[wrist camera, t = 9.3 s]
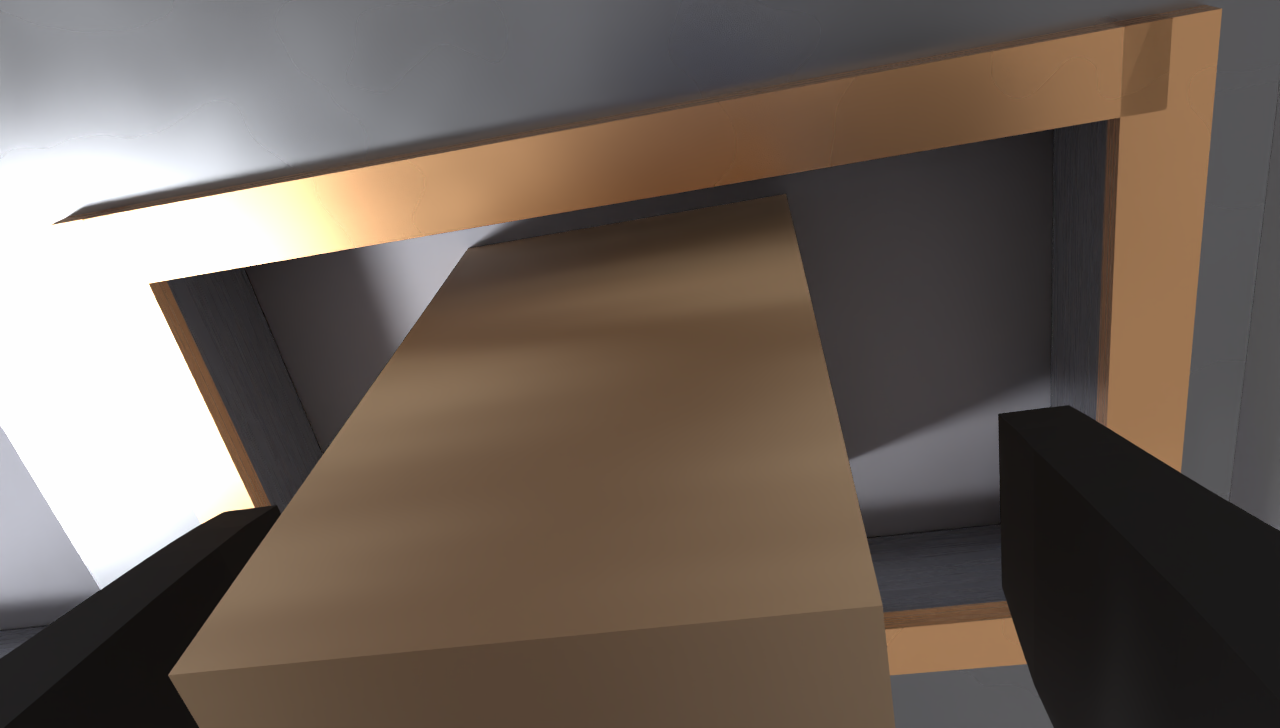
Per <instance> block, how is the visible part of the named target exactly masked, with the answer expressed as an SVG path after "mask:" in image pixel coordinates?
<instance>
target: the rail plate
mask: <svg viewBox="0 0 1280 728" xmlns="http://www.w3.org/2000/svg"><path fill="white" fill-rule="evenodd" d="M1279 82H1280V0H0V424H1V426H2V427H3V429H4V431H5V432H6V434H7V435H8V437H9V439H10V440H11V442H12V444H13V445H14V447H15V449H16V450H17V452H18V454H19V455H20V457H21V459H22V460H23V462H24V464H25V465H26V467H27V469H28V470H29V472H30V474H31V475H32V477H33V479H34V480H35V482H36V484H37V485H38V487H39V489H40V490H41V492H42V494H43V495H44V497H45V499H46V500H47V502H48V504H49V505H50V507H51V509H52V510H53V512H54V514H55V515H56V517H57V519H58V520H59V522H60V524H61V525H62V527H63V529H64V530H65V532H66V534H67V535H68V537H69V539H70V540H71V542H72V544H73V545H74V547H75V549H76V550H77V552H78V554H79V555H80V557H81V559H82V560H83V562H84V564H85V565H86V567H87V569H88V570H89V572H90V574H91V575H92V577H93V579H94V580H95V582H96V584H97V585H98V587H99V589H100V590H101V589H103V588H104V587H106V586H107V585H108V584H110V583H111V582H113V581H114V580H116V579H117V578H119V577H120V576H122V575H123V574H125V573H126V572H127V571H129V570H130V569H132V568H133V567H135V566H136V565H138V564H139V563H141V562H142V561H144V560H145V559H147V558H148V557H150V556H151V555H153V554H154V553H156V552H157V551H159V550H160V549H162V548H163V547H165V546H167V545H168V544H170V543H171V542H173V541H174V540H176V539H177V538H179V537H181V536H182V535H184V534H185V533H187V532H189V531H190V530H192V529H194V528H195V527H197V526H199V525H200V524H202V523H204V522H206V521H208V520H210V519H211V518H213V517H215V516H217V515H219V514H221V513H222V512H225V511H233V510H241V509H249V508H257V507H265V506H273V505H277V506H278V508H279V510H280V513H281V514H282V512H283V511H284V510H285V508H286V507H287V505H288V504H289V502H290V501H291V500H292V498H293V497H294V495H295V494H296V492H297V491H298V490H299V488H300V487H301V485H302V484H303V483H304V481H305V480H306V478H307V477H308V475H309V474H310V473H311V471H312V470H313V468H314V467H315V465H316V464H317V463H318V461H319V460H320V458H321V457H322V453H321V450H320V448H319V445H318V443H317V441H316V438H315V436H314V434H313V431H312V429H311V426H310V424H309V422H308V419H307V417H306V415H305V412H304V410H303V408H302V405H301V403H300V400H299V398H298V396H297V393H296V391H295V389H294V386H293V384H292V381H291V379H290V377H289V374H288V372H287V370H286V367H285V365H284V362H283V360H282V358H281V355H280V353H279V351H278V348H277V346H276V343H275V341H274V339H273V336H272V334H271V332H270V329H269V327H268V324H267V322H266V320H265V317H264V315H263V313H262V310H261V308H260V305H259V303H258V301H257V298H256V296H255V294H254V291H253V289H252V286H251V284H250V282H249V279H248V277H247V275H246V272H245V270H244V267H247V266H253V265H258V264H264V263H270V262H276V261H282V260H288V259H294V258H299V257H305V256H311V255H317V254H323V253H329V252H335V251H340V250H346V249H352V248H358V247H364V246H370V245H376V244H382V243H387V242H393V241H399V240H405V239H411V238H417V237H423V236H428V235H434V234H440V233H446V232H452V231H458V230H464V229H469V228H475V227H481V226H487V225H493V224H499V223H505V222H510V221H516V220H522V219H528V218H534V217H540V216H546V215H551V214H557V213H563V212H569V211H575V210H581V209H587V208H593V207H598V206H604V205H610V204H616V203H622V202H628V201H634V200H639V199H645V198H651V197H657V196H663V195H669V194H675V193H680V192H686V191H692V190H698V189H704V188H710V187H716V186H721V185H727V184H733V183H739V182H745V181H751V180H757V179H762V178H768V177H774V176H780V175H786V174H792V173H798V172H804V171H809V170H815V169H821V168H827V167H833V166H839V165H845V164H850V163H856V162H862V161H868V160H874V159H880V158H886V157H891V156H897V155H903V154H909V153H915V152H921V151H927V150H932V149H938V148H944V147H950V146H956V145H962V144H968V143H973V142H979V141H985V140H991V139H997V138H1003V137H1009V136H1014V135H1020V134H1026V133H1032V132H1038V131H1044V130H1050V129H1054V171H1053V264H1052V357H1051V407H1057V406H1065V405H1069V406H1071V407H1073V408H1075V409H1077V410H1079V411H1080V412H1082V413H1084V414H1086V415H1087V416H1089V417H1091V418H1092V419H1094V420H1096V421H1097V422H1099V423H1101V424H1102V425H1104V426H1106V427H1107V428H1109V429H1111V430H1112V431H1114V432H1115V433H1117V434H1119V435H1120V436H1122V437H1123V438H1125V439H1127V440H1128V441H1130V442H1132V443H1133V444H1135V445H1136V446H1138V447H1140V448H1141V449H1143V450H1144V451H1146V452H1148V453H1149V454H1151V455H1153V456H1154V457H1156V458H1157V459H1159V460H1161V461H1162V462H1164V463H1166V464H1167V465H1169V466H1170V467H1172V468H1174V469H1175V470H1177V471H1179V472H1180V473H1182V474H1183V475H1185V476H1187V477H1188V478H1190V479H1192V480H1193V481H1195V482H1197V483H1198V484H1200V485H1202V486H1203V487H1205V488H1207V489H1208V490H1210V491H1212V492H1213V493H1215V494H1217V495H1218V496H1220V497H1222V498H1223V499H1225V500H1227V501H1229V498H1230V490H1231V481H1232V473H1233V465H1234V456H1235V448H1236V440H1237V431H1238V423H1239V415H1240V406H1241V398H1242V390H1243V382H1244V373H1245V365H1246V357H1247V348H1248V340H1249V332H1250V323H1251V315H1252V307H1253V298H1254V290H1255V282H1256V273H1257V265H1258V257H1259V248H1260V240H1261V232H1262V223H1263V215H1264V207H1265V198H1266V190H1267V182H1268V173H1269V165H1270V157H1271V148H1272V140H1273V132H1274V123H1275V115H1276V107H1277V98H1278V90H1279ZM867 541H868V545H869V549H870V554H871V558H872V562H873V566H874V571H875V575H876V579H877V584H878V588H879V592H880V596H881V601H882V605H883V614H884V623H885V633H886V643H887V652H888V662H889V671H890V681H891V691H892V700H893V710H894V720H895V728H1054V727H1053V725H1052V723H1051V721H1050V719H1049V717H1048V714H1047V712H1046V710H1045V708H1044V706H1043V704H1042V701H1041V699H1040V697H1039V695H1038V692H1037V690H1036V688H1035V686H1034V683H1033V680H1032V677H1031V674H1030V671H1029V668H1028V665H1027V663H1026V660H1025V657H1024V654H1023V651H1022V648H1021V645H1020V642H1019V639H1018V636H1017V632H1016V629H1015V626H1014V623H1013V620H1012V617H1011V614H1010V610H1009V607H1008V604H1007V601H1006V598H1005V595H1004V592H1003V588H1002V569H1001V524H999V525H989V526H980V527H971V528H961V529H952V530H943V531H933V532H924V533H915V534H905V535H896V536H886V537H877V538H868V539H867ZM46 627H47V626H44V627H34V628H25V629H16V630H6V631H0V658H2V657H3V656H5V655H6V654H8V653H9V652H11V651H12V650H14V649H15V648H17V647H18V646H20V645H21V644H23V643H24V642H25V641H27V640H28V639H30V638H31V637H33V636H34V635H36V634H37V633H39V632H40V631H41V630H43V629H44V628H46Z"/></svg>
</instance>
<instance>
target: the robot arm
mask: <svg viewBox="0 0 1280 728" xmlns="http://www.w3.org/2000/svg"><path fill="white" fill-rule="evenodd" d="M998 420H999V470H1000V519H1001V569H1002V588H1003V592H1004V595H1005V598H1006V601H1007V604H1008V607H1009V610H1010V614H1011V617H1012V620H1013V623H1014V626H1015V629H1016V632H1017V636H1018V639H1019V642H1020V645H1021V648H1022V651H1023V654H1024V657H1025V660H1026V663H1027V665H1028V668H1029V671H1030V674H1031V677H1032V680H1033V683H1034V686H1035V688H1036V690H1037V692H1038V695H1039V697H1040V699H1041V701H1042V704H1043V706H1044V708H1045V710H1046V712H1047V714H1048V717H1049V719H1050V721H1051V723H1052V725H1053V727H1054V728H1280V531H1279V530H1277V529H1275V528H1273V527H1272V526H1270V525H1268V524H1266V523H1265V522H1263V521H1261V520H1259V519H1258V518H1256V517H1254V516H1252V515H1251V514H1249V513H1247V512H1246V511H1244V510H1242V509H1240V508H1239V507H1237V506H1235V505H1234V504H1232V503H1230V502H1229V501H1227V500H1225V499H1223V498H1222V497H1220V496H1218V495H1217V494H1215V493H1213V492H1212V491H1210V490H1208V489H1207V488H1205V487H1203V486H1202V485H1200V484H1198V483H1197V482H1195V481H1193V480H1192V479H1190V478H1188V477H1187V476H1185V475H1183V474H1182V473H1180V472H1179V471H1177V470H1175V469H1174V468H1172V467H1170V466H1169V465H1167V464H1166V463H1164V462H1162V461H1161V460H1159V459H1157V458H1156V457H1154V456H1153V455H1151V454H1149V453H1148V452H1146V451H1144V450H1143V449H1141V448H1140V447H1138V446H1136V445H1135V444H1133V443H1132V442H1130V441H1128V440H1127V439H1125V438H1123V437H1122V436H1120V435H1119V434H1117V433H1115V432H1114V431H1112V430H1111V429H1109V428H1107V427H1106V426H1104V425H1102V424H1101V423H1099V422H1097V421H1096V420H1094V419H1092V418H1091V417H1089V416H1087V415H1086V414H1084V413H1082V412H1080V411H1079V410H1077V409H1075V408H1073V407H1071V406H1069V405H1065V406H1057V407H1049V408H1041V409H1033V410H1025V411H1017V412H1009V413H1002V414H998ZM280 515H281V513H280V510H279V508H278V506H277V505H273V506H265V507H257V508H249V509H241V510H233V511H225V512H222V513H221V514H219V515H217V516H215V517H213V518H211V519H210V520H208V521H206V522H204V523H202V524H200V525H199V526H197V527H195V528H194V529H192V530H190V531H189V532H187V533H185V534H184V535H182V536H181V537H179V538H177V539H176V540H174V541H173V542H171V543H170V544H168V545H167V546H165V547H163V548H162V549H160V550H159V551H157V552H156V553H154V554H153V555H151V556H150V557H148V558H147V559H145V560H144V561H142V562H141V563H139V564H138V565H136V566H135V567H133V568H132V569H130V570H129V571H127V572H126V573H125V574H123V575H122V576H120V577H119V578H117V579H116V580H114V581H113V582H111V583H110V584H108V585H107V586H106V587H104V588H103V589H101V590H100V591H98V592H97V593H95V594H94V595H92V596H91V597H89V598H88V599H87V600H85V601H84V602H82V603H81V604H79V605H78V606H76V607H75V608H73V609H72V610H71V611H69V612H68V613H66V614H65V615H63V616H62V617H60V618H59V619H57V620H56V621H55V622H53V623H52V624H50V625H49V626H47V627H46V628H44V629H43V630H41V631H40V632H39V633H37V634H36V635H34V636H33V637H31V638H30V639H28V640H27V641H25V642H24V643H23V644H21V645H20V646H18V647H17V648H15V649H14V650H12V651H11V652H9V653H8V654H6V655H5V656H3V657H2V658H0V728H199V726H198V725H197V723H196V721H195V720H194V718H193V716H192V714H191V713H190V711H189V709H188V708H187V706H186V704H185V703H184V701H183V699H182V698H181V696H180V694H179V693H178V691H177V689H176V688H175V686H174V684H173V683H172V681H171V679H170V678H169V676H168V674H169V673H170V672H171V670H172V669H173V667H174V666H175V665H176V663H177V662H178V660H179V659H180V657H181V656H182V655H183V653H184V652H185V650H186V649H187V647H188V646H189V645H190V643H191V642H192V640H193V639H194V638H195V636H196V635H197V633H198V632H199V630H200V629H201V628H202V626H203V625H204V623H205V622H206V620H207V619H208V618H209V616H210V615H211V613H212V612H213V610H214V609H215V608H216V606H217V605H218V603H219V602H220V601H221V599H222V598H223V596H224V595H225V593H226V592H227V591H228V589H229V588H230V586H231V585H232V583H233V582H234V581H235V579H236V578H237V576H238V575H239V574H240V572H241V571H242V569H243V568H244V566H245V565H246V564H247V562H248V561H249V559H250V558H251V556H252V555H253V554H254V552H255V551H256V549H257V548H258V547H259V545H260V544H261V542H262V541H263V539H264V538H265V537H266V535H267V534H268V532H269V531H270V529H271V528H272V527H273V525H274V524H275V522H276V521H277V519H278V518H279V517H280Z"/></svg>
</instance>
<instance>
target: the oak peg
mask: <svg viewBox="0 0 1280 728" xmlns="http://www.w3.org/2000/svg"><path fill="white" fill-rule="evenodd" d="M168 676H169V678H170V679H171V681H172V683H173V684H174V686H175V688H176V689H177V691H178V693H179V694H180V696H181V698H182V699H183V701H184V703H185V704H186V706H187V708H188V709H189V711H190V713H191V714H192V716H193V718H194V720H195V721H196V723H197V725H198V726H199V728H895V720H894V710H893V700H892V691H891V681H890V671H889V662H888V652H887V643H886V633H885V623H884V614H883V605H882V601H881V596H880V592H879V588H878V584H877V579H876V575H875V571H874V566H873V562H872V558H871V554H870V549H869V545H868V541H867V537H866V532H865V528H864V524H863V520H862V515H861V511H860V507H859V503H858V498H857V494H856V490H855V485H854V481H853V477H852V473H851V468H850V464H849V460H848V456H847V451H846V447H845V443H844V439H843V434H842V430H841V426H840V422H839V417H838V413H837V409H836V404H835V400H834V396H833V392H832V387H831V383H830V379H829V375H828V370H827V366H826V362H825V358H824V353H823V349H822V345H821V341H820V336H819V332H818V328H817V323H816V319H815V315H814V311H813V306H812V302H811V298H810V294H809V289H808V285H807V281H806V277H805V272H804V268H803V264H802V260H801V255H800V251H799V247H798V242H797V238H796V234H795V230H794V225H793V221H792V217H791V213H790V208H789V204H788V200H787V196H786V194H782V195H776V196H770V197H765V198H759V199H753V200H747V201H741V202H735V203H730V204H724V205H718V206H712V207H706V208H700V209H695V210H689V211H683V212H677V213H671V214H666V215H660V216H654V217H648V218H642V219H636V220H631V221H625V222H619V223H613V224H607V225H602V226H596V227H590V228H584V229H578V230H572V231H567V232H561V233H555V234H549V235H543V236H538V237H532V238H526V239H520V240H514V241H508V242H503V243H497V244H491V245H485V246H479V247H474V248H468V249H467V251H466V252H465V254H464V255H463V256H462V258H461V259H460V261H459V262H458V264H457V265H456V266H455V268H454V269H453V271H452V272H451V273H450V275H449V276H448V278H447V279H446V281H445V282H444V283H443V285H442V286H441V288H440V289H439V291H438V292H437V293H436V295H435V296H434V298H433V299H432V301H431V302H430V303H429V305H428V306H427V308H426V309H425V310H424V312H423V313H422V315H421V316H420V318H419V319H418V320H417V322H416V323H415V325H414V326H413V328H412V329H411V330H410V332H409V333H408V335H407V336H406V337H405V339H404V340H403V342H402V343H401V345H400V346H399V347H398V349H397V350H396V352H395V353H394V355H393V356H392V357H391V359H390V360H389V362H388V363H387V364H386V366H385V367H384V369H383V370H382V372H381V373H380V374H379V376H378V377H377V379H376V380H375V382H374V383H373V384H372V386H371V387H370V389H369V390H368V392H367V393H366V394H365V396H364V397H363V399H362V400H361V401H360V403H359V404H358V406H357V407H356V409H355V410H354V411H353V413H352V414H351V416H350V417H349V419H348V420H347V421H346V423H345V424H344V426H343V427H342V428H341V430H340V431H339V433H338V434H337V436H336V437H335V438H334V440H333V441H332V443H331V444H330V446H329V447H328V448H327V450H326V451H325V453H324V454H323V455H322V457H321V458H320V460H319V461H318V463H317V464H316V465H315V467H314V468H313V470H312V471H311V473H310V474H309V475H308V477H307V478H306V480H305V481H304V483H303V484H302V485H301V487H300V488H299V490H298V491H297V492H296V494H295V495H294V497H293V498H292V500H291V501H290V502H289V504H288V505H287V507H286V508H285V510H284V511H283V512H282V514H281V515H280V517H279V518H278V519H277V521H276V522H275V524H274V525H273V527H272V528H271V529H270V531H269V532H268V534H267V535H266V537H265V538H264V539H263V541H262V542H261V544H260V545H259V547H258V548H257V549H256V551H255V552H254V554H253V555H252V556H251V558H250V559H249V561H248V562H247V564H246V565H245V566H244V568H243V569H242V571H241V572H240V574H239V575H238V576H237V578H236V579H235V581H234V582H233V583H232V585H231V586H230V588H229V589H228V591H227V592H226V593H225V595H224V596H223V598H222V599H221V601H220V602H219V603H218V605H217V606H216V608H215V609H214V610H213V612H212V613H211V615H210V616H209V618H208V619H207V620H206V622H205V623H204V625H203V626H202V628H201V629H200V630H199V632H198V633H197V635H196V636H195V638H194V639H193V640H192V642H191V643H190V645H189V646H188V647H187V649H186V650H185V652H184V653H183V655H182V656H181V657H180V659H179V660H178V662H177V663H176V665H175V666H174V667H173V669H172V670H171V672H170V673H169V674H168Z"/></svg>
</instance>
